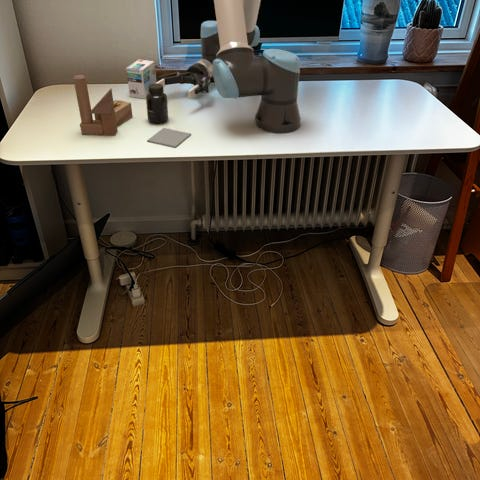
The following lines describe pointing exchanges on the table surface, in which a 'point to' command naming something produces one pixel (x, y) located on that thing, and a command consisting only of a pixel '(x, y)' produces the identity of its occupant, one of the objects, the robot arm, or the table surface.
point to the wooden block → (95, 110)
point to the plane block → (120, 112)
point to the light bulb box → (140, 77)
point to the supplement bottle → (156, 104)
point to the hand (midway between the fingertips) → (171, 91)
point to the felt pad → (169, 137)
